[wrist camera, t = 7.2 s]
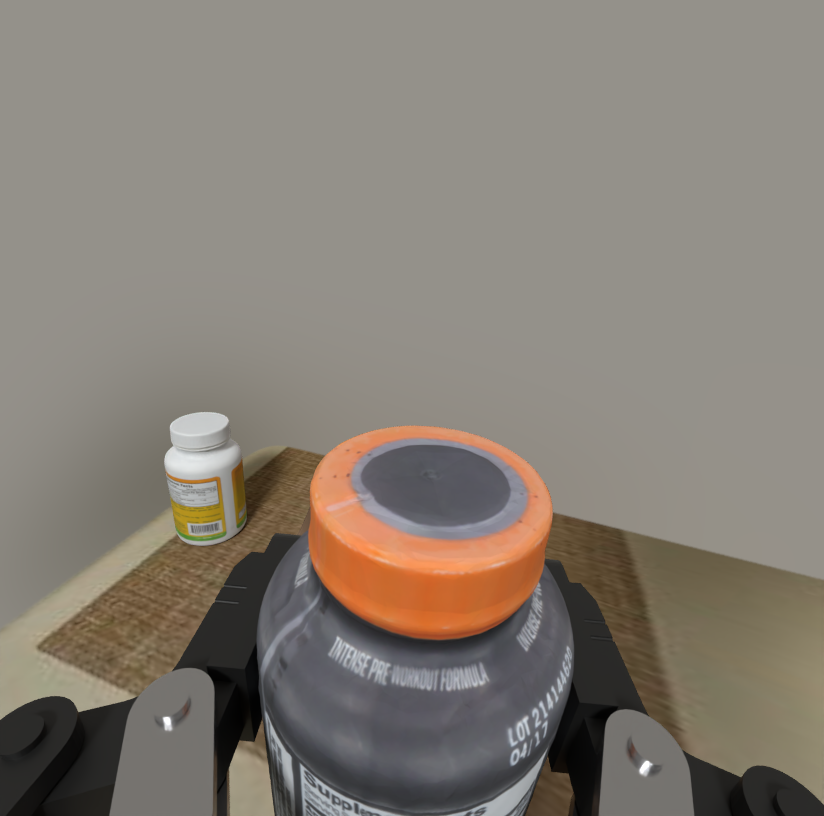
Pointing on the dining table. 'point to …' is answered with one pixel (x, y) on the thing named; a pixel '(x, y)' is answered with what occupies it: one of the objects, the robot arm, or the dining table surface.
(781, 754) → the dining table surface
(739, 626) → the dining table surface
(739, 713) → the dining table surface
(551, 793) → the dining table surface
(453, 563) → the pill bottle
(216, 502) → the supplement bottle
